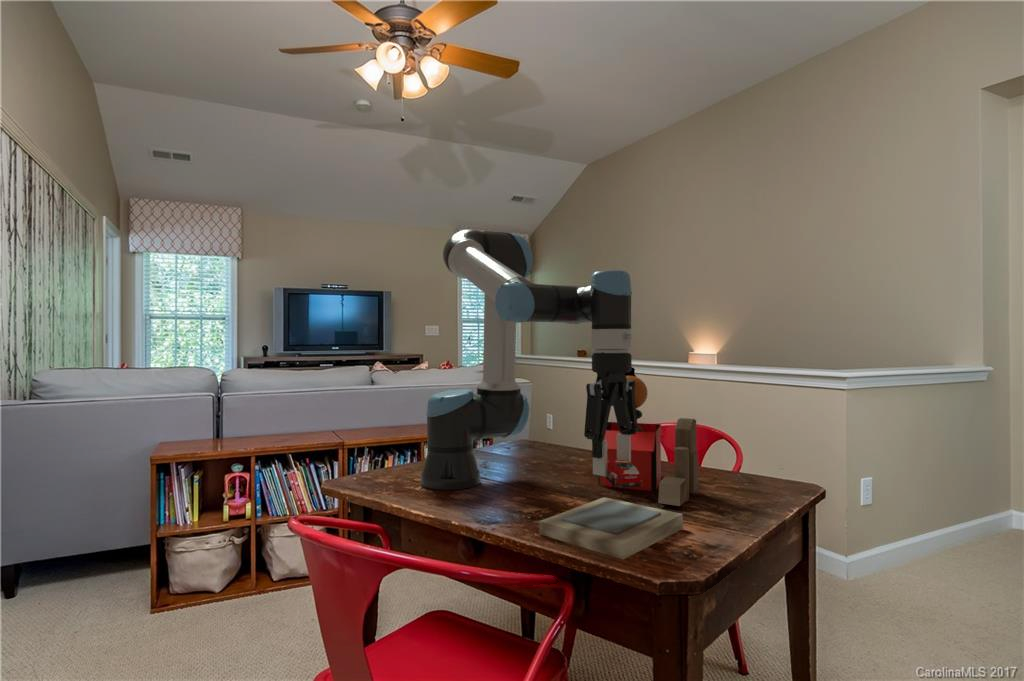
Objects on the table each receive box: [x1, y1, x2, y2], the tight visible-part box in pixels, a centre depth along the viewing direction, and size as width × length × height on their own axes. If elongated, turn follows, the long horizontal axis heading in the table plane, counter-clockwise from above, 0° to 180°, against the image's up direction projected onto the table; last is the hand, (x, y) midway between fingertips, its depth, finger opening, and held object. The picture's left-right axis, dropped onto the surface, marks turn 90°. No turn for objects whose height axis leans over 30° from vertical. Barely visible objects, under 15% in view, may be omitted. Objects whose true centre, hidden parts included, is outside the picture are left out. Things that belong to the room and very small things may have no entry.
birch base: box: [538, 496, 684, 560], centre depth 108 cm, size 18×22×3 cm
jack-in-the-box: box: [597, 367, 664, 492], centre depth 148 cm, size 26×16×30 cm, turn 160°
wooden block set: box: [658, 417, 699, 507], centre depth 131 cm, size 17×6×18 cm, turn 148°
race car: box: [604, 460, 643, 489], centre depth 105 cm, size 13×5×4 cm, turn 6°
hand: (612, 470), depth 108 cm, fingers closed on race car, 8 cm apart
